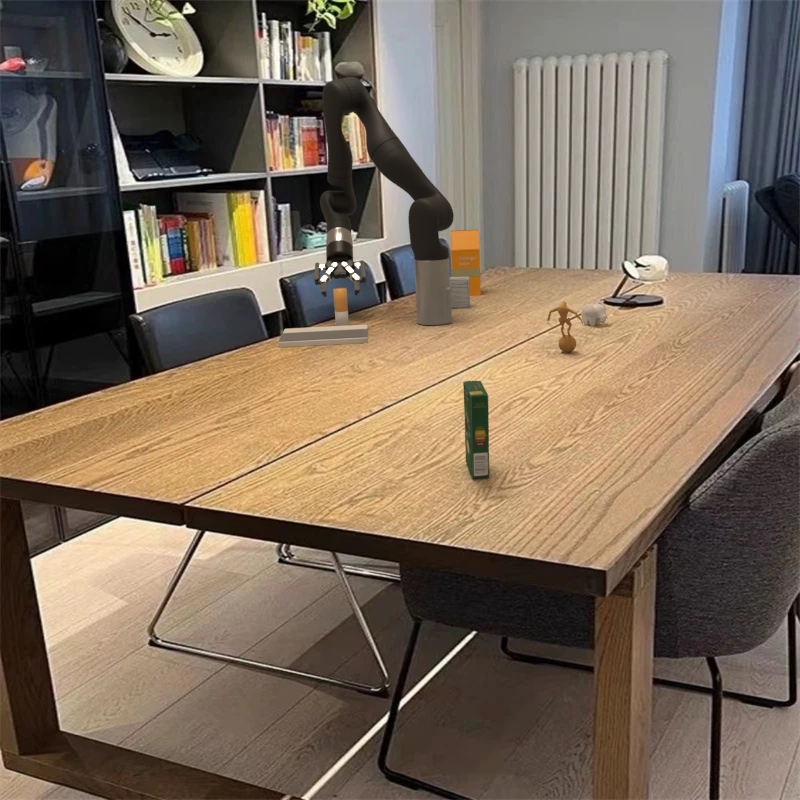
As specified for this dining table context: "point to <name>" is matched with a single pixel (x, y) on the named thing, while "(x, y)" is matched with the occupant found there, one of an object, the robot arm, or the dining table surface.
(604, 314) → the elephant figurine
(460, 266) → the orange juice
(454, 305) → the medicine box
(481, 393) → the coffee box
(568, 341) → the figurine
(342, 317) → the orange and grey block
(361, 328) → the board
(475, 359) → the dining table surface
